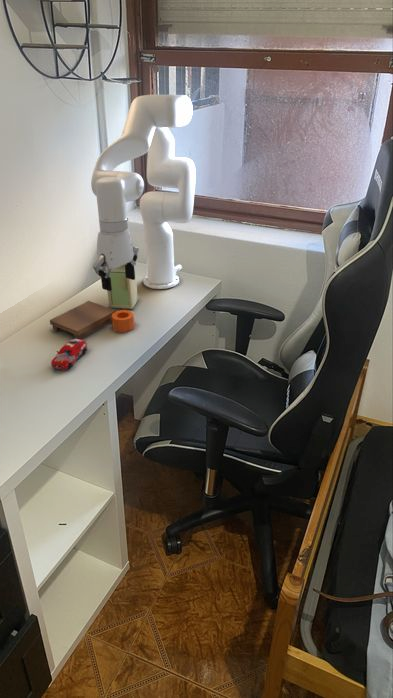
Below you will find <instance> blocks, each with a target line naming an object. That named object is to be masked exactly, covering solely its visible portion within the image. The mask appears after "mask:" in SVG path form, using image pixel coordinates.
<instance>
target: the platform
mask: <svg viewBox="0 0 393 698" xmlns="http://www.w3.org/2000/svg"><path fill="white" fill-rule="evenodd" d="M116 311H117V309H115V308H110V307H109V306H105V305H102V304H99V303H96V302H94V301H91V300H87V301H85V302H83V303H81V304H79V305H77V306H75V307H73V308H70V309H69V310H66V311H65V312H63V313H61V314H58V315H57V316H55V317H53V318H51V319H49V324H50V326H51V327H52V331H54V332H60V331H62V330H63V331H65V332H68V333H70V334H72V335H74V339H81V340H84V339H86V338H88V337H90V336H91V335H93V334H95V333H97V332H98V331H100V330H102V329H104V328H106V327H107V326H110V325H111V324H112V314H113V313H115V312H116Z"/></svg>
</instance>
